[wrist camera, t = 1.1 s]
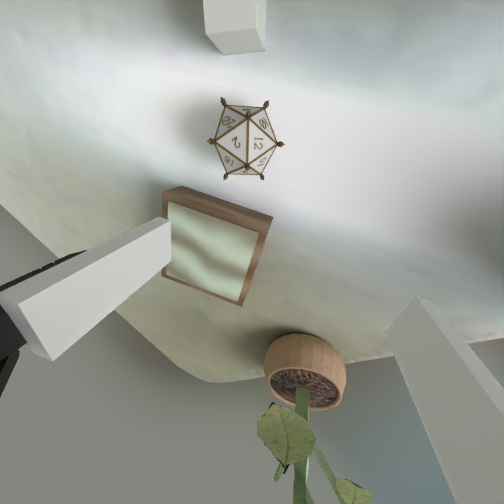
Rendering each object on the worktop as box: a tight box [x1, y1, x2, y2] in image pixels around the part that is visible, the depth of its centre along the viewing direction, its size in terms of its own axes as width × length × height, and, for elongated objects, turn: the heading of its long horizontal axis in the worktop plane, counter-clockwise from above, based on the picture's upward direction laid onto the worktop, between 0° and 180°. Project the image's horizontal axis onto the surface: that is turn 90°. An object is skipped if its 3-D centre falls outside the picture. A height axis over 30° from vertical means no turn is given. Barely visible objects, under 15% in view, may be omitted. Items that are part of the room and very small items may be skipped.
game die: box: [207, 97, 285, 180], centre depth 23 cm, size 9×8×10 cm
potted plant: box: [257, 334, 374, 504], centre depth 30 cm, size 22×18×30 cm
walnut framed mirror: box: [162, 186, 273, 307], centre depth 33 cm, size 16×16×5 cm
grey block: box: [203, 0, 267, 55], centre depth 19 cm, size 5×5×5 cm
